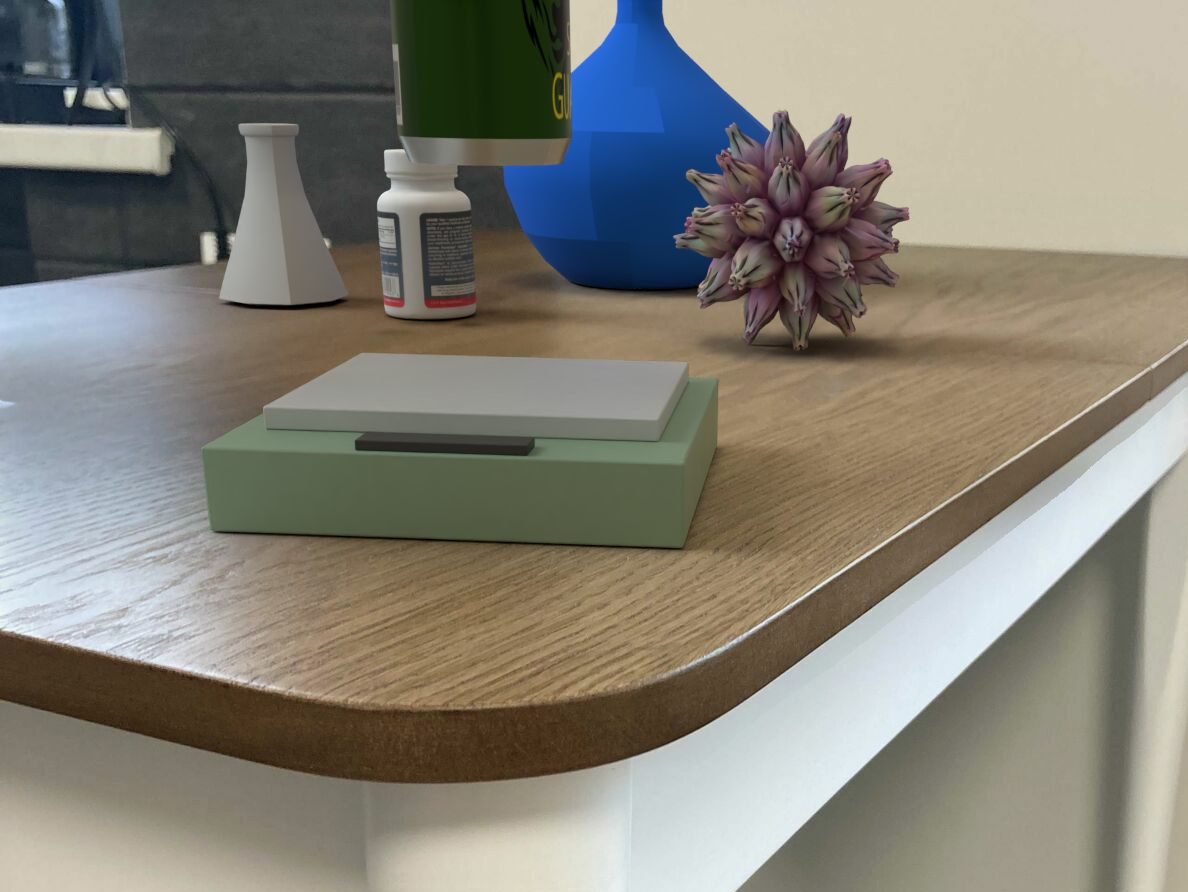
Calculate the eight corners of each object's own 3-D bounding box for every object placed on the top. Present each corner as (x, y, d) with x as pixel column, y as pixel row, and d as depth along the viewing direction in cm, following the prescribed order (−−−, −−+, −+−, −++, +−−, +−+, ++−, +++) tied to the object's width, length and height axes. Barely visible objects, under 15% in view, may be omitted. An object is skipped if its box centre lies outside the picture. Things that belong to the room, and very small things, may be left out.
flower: (923, 374, 80) (822, 354, 70) (732, 343, 86) (613, 320, 76) (968, 145, 78) (869, 91, 67) (767, 128, 83) (649, 75, 73)
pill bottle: (488, 310, 90) (481, 149, 86) (459, 322, 85) (451, 152, 81) (403, 307, 90) (393, 147, 87) (370, 318, 86) (358, 150, 82)
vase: (453, 277, 105) (439, -32, 97) (654, 262, 116) (655, -16, 109) (622, 305, 93) (620, -47, 85) (827, 285, 104) (842, -27, 96)
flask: (197, 303, 90) (176, 123, 86) (277, 291, 96) (261, 122, 92) (293, 312, 88) (276, 126, 84) (370, 299, 94) (357, 124, 90)
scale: (209, 531, 44) (196, 422, 43) (348, 433, 57) (342, 347, 56) (683, 549, 43) (684, 437, 42) (717, 445, 56) (719, 358, 55)
